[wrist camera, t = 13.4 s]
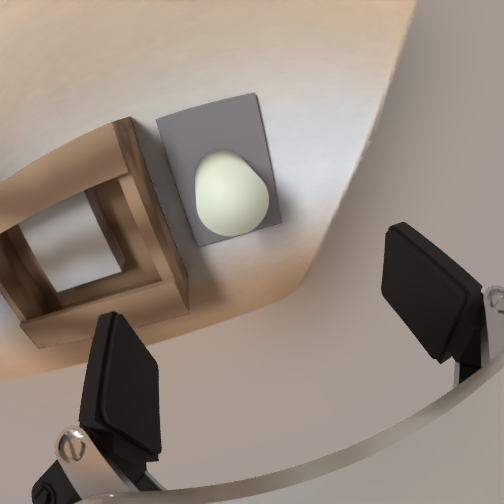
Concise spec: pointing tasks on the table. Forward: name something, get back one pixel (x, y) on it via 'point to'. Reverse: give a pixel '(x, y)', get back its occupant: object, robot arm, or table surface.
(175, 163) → the rubber mat
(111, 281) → the walnut box
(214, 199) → the sage cylinder
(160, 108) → the table surface
